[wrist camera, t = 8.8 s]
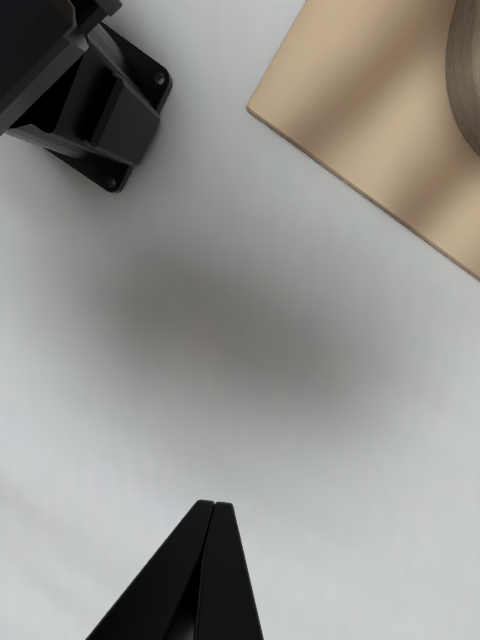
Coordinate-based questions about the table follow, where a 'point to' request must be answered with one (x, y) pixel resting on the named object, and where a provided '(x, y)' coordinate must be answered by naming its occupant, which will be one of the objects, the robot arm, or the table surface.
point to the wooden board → (380, 113)
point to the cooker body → (465, 70)
